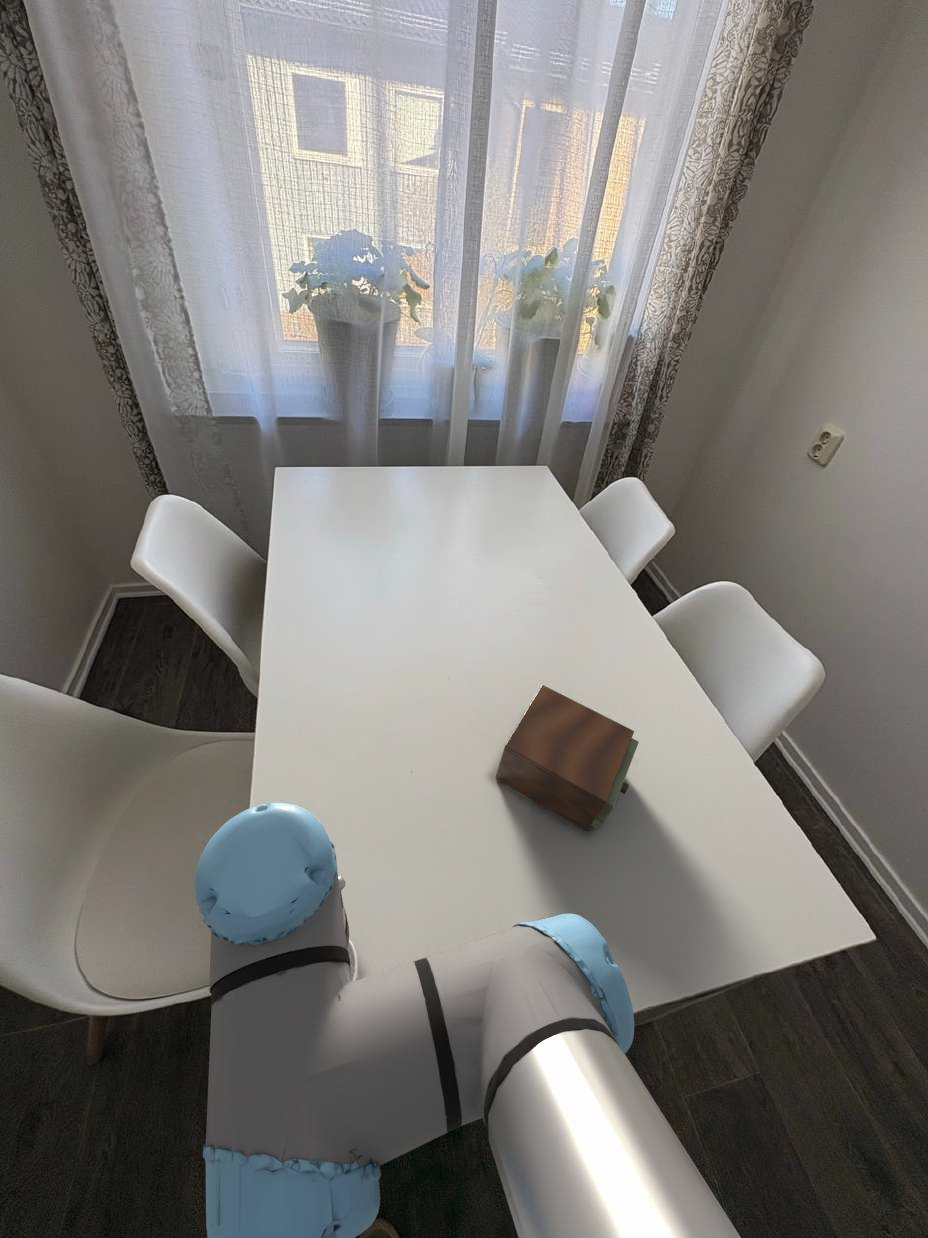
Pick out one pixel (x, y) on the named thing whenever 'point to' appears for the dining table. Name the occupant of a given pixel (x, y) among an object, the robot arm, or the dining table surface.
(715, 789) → the dining table surface
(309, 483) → the dining table surface
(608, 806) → the top drawer
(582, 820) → the cabinet
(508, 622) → the dining table surface
